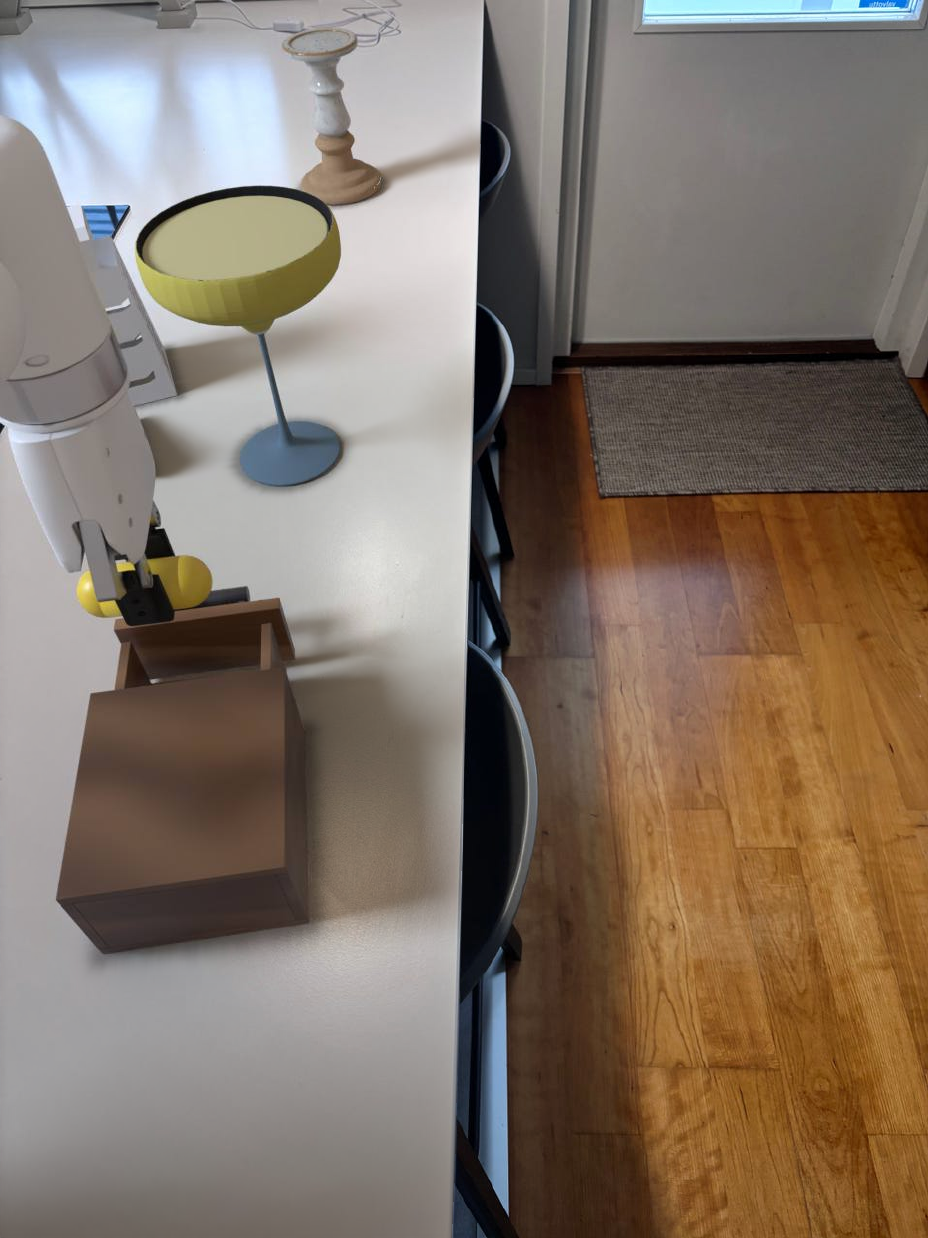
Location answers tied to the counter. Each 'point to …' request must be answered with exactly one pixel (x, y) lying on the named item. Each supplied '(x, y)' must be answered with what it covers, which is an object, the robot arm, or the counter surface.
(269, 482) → the cocktail glass
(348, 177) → the candle holder
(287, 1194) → the counter surface
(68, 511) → the robot arm
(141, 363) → the grater
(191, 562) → the yellow pill capsule
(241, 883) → the cabinet
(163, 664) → the drawer
